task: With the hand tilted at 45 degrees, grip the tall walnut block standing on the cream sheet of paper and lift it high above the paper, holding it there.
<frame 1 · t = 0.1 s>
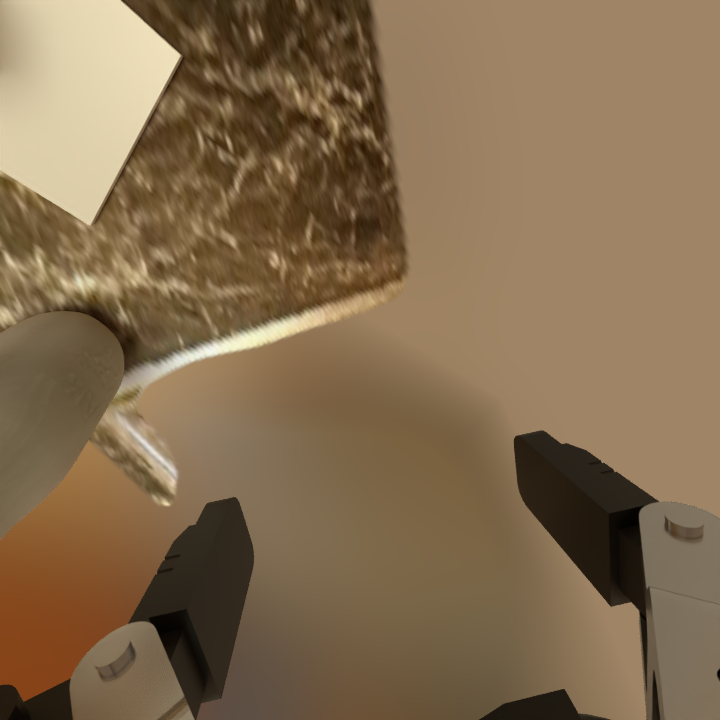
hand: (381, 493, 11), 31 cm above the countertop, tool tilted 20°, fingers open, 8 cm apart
glass bottle: (87, 336, 40), on the countertop
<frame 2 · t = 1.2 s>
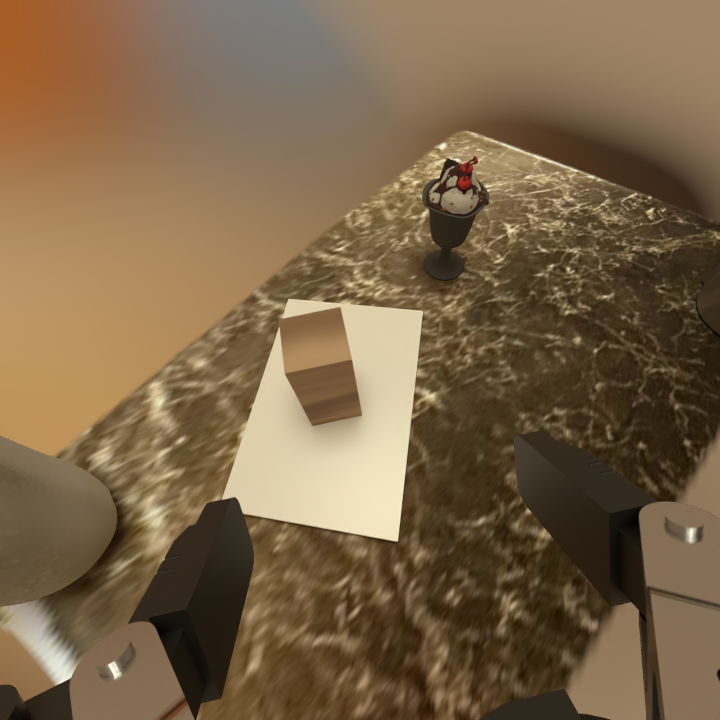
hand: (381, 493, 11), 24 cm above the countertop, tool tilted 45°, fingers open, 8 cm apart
walnut block: (333, 398, 38), point 1 cm above the countertop, touching cream sheet of paper
cream sheet of paper: (334, 401, 39), on the countertop
sundae: (443, 266, 47), on the countertop
glass bottle: (85, 534, 34), on the countertop
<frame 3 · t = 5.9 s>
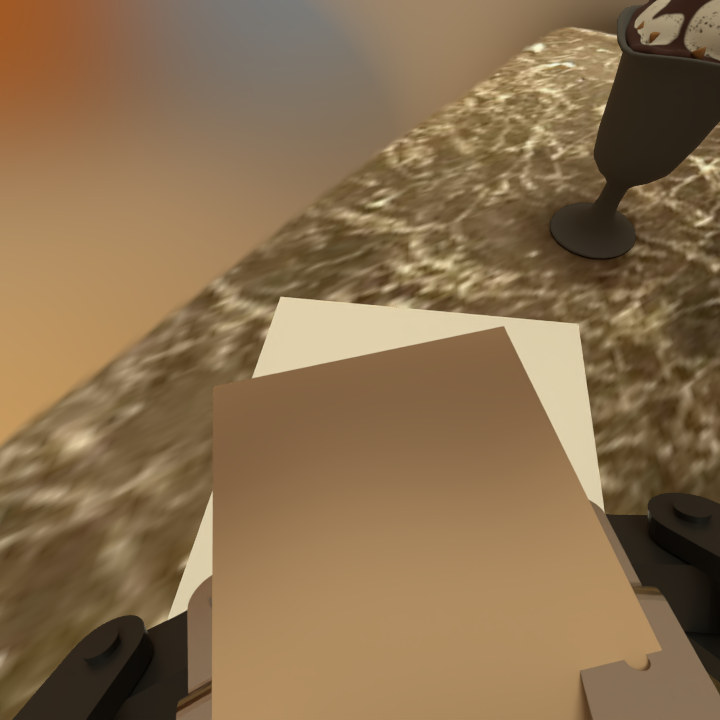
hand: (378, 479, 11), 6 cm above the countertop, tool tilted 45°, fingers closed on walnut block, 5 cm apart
walnut block: (392, 554, 15), point 1 cm above the countertop, touching cream sheet of paper, gripper
cream sheet of paper: (392, 555, 15), on the countertop
sundae: (590, 233, 24), on the countertop
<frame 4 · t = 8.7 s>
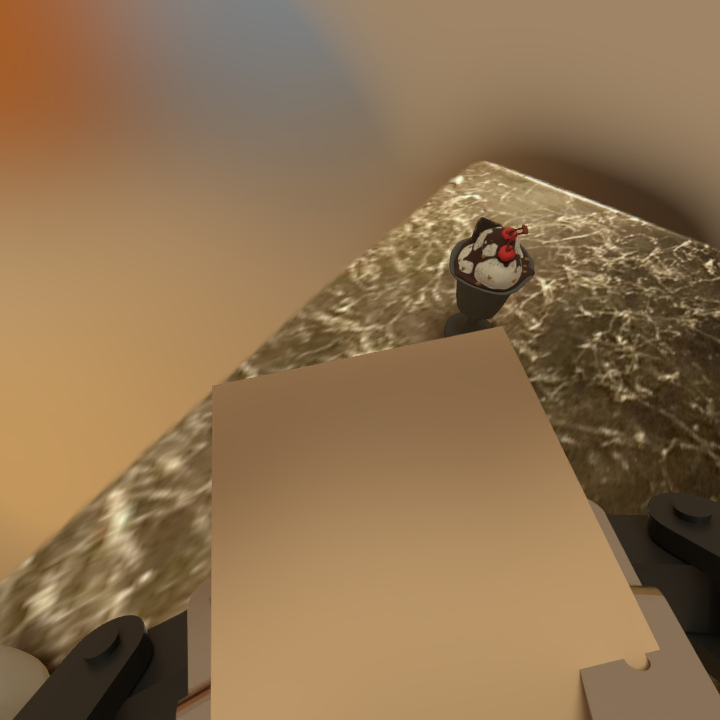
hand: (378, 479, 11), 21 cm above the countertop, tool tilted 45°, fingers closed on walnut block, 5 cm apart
walnut block: (392, 554, 15), point 17 cm above the countertop, touching gripper
sundae: (468, 333, 39), on the countertop
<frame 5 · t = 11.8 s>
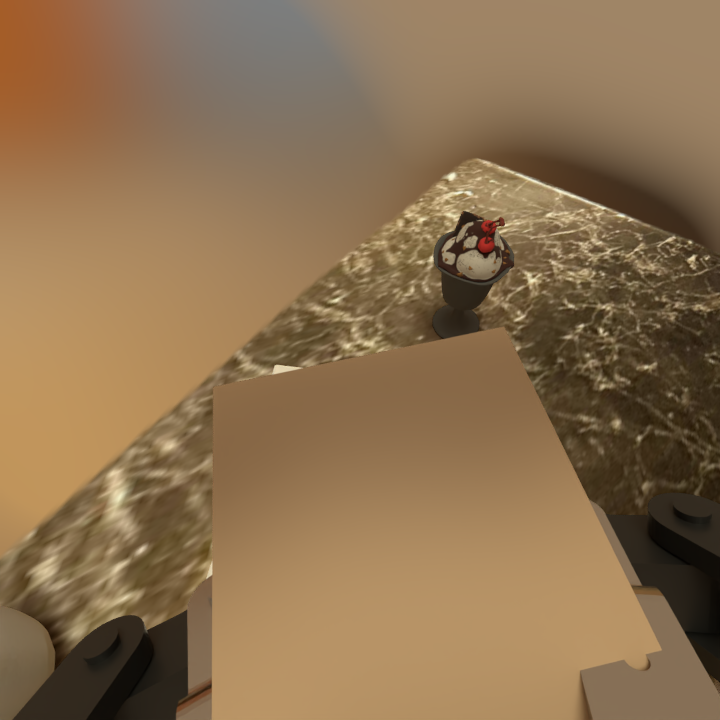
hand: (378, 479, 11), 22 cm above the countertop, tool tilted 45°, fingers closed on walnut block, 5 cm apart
walnut block: (392, 555, 15), point 17 cm above the countertop, touching gripper
sundae: (455, 324, 41), on the countertop
glass bottle: (17, 681, 28), on the countertop
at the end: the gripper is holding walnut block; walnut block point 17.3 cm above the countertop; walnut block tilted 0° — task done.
